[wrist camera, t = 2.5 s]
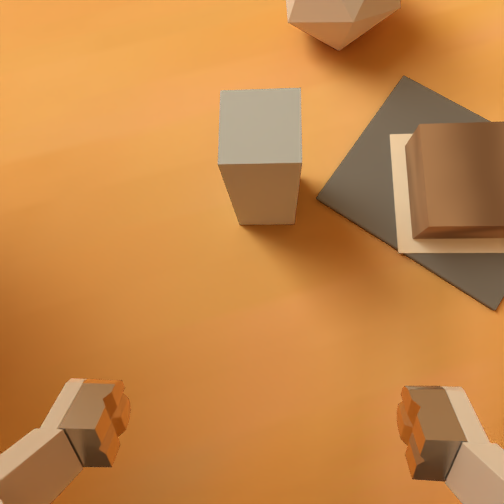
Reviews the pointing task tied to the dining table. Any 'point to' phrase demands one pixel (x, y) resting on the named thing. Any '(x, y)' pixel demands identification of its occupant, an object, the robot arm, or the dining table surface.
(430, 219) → the base block
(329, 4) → the die
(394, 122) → the mat
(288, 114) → the column
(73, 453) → the robot arm
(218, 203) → the dining table surface
